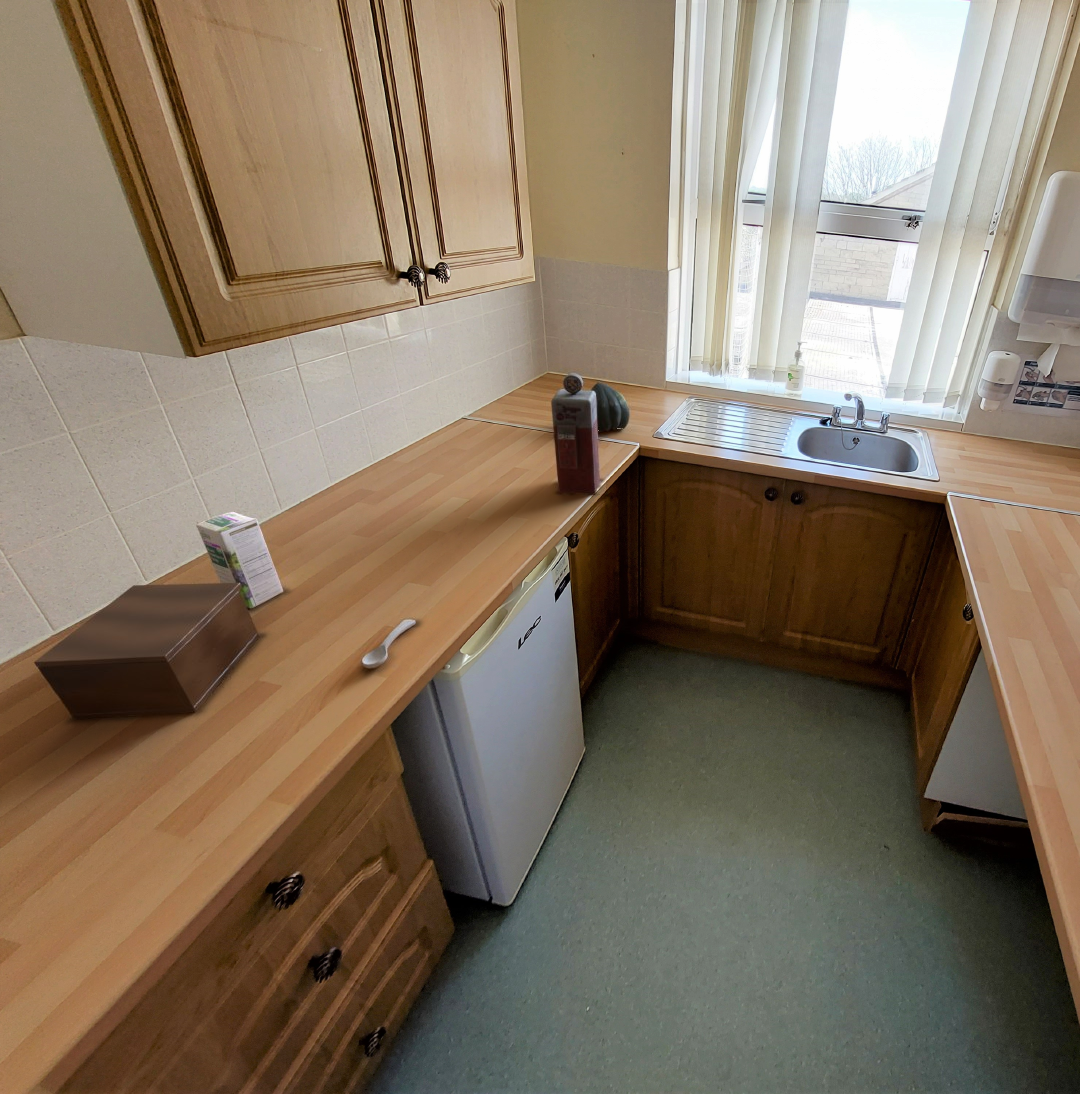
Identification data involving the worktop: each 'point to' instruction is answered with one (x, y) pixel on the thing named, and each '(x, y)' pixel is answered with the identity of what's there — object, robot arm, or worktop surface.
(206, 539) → the syrup box
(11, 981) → the worktop surface
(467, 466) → the worktop surface
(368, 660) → the spoon
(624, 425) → the squash
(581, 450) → the vintage gas pump
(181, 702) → the walnut box
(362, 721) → the worktop surface
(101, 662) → the lid
